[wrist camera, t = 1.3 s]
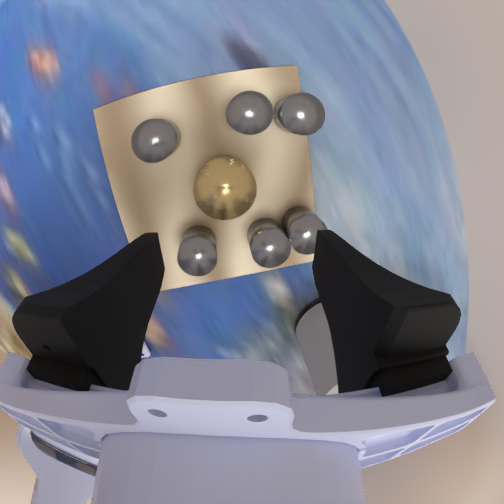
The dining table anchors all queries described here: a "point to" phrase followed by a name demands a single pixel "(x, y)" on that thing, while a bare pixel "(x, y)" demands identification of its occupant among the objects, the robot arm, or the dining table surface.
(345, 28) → the dining table surface
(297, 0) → the dining table surface
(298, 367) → the dining table surface
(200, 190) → the gold dome
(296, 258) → the board
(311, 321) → the can
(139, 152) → the metal pegs
